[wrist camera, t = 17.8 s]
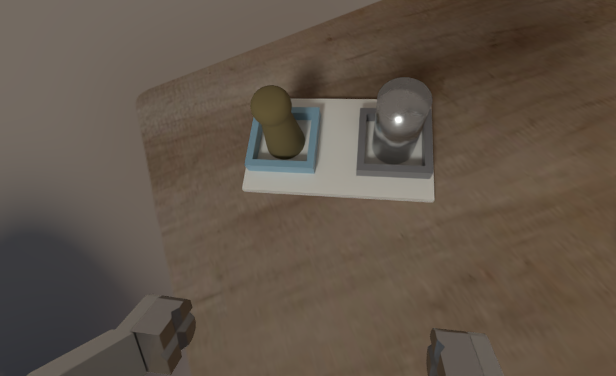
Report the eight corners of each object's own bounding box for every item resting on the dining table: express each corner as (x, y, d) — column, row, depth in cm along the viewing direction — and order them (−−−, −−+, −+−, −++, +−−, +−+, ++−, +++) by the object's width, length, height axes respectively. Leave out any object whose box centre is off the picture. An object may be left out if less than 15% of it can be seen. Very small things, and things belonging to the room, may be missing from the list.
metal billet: (414, 128, 46) (431, 77, 36) (414, 165, 44) (433, 122, 34) (372, 127, 47) (378, 77, 37) (371, 163, 45) (376, 121, 35)
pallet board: (429, 103, 48) (434, 91, 46) (432, 202, 43) (438, 195, 40) (260, 101, 53) (255, 90, 50) (244, 191, 47) (237, 184, 45)
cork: (265, 128, 50) (242, 81, 39) (303, 122, 49) (290, 73, 39) (267, 162, 47) (244, 122, 37) (307, 156, 47) (294, 114, 37)
